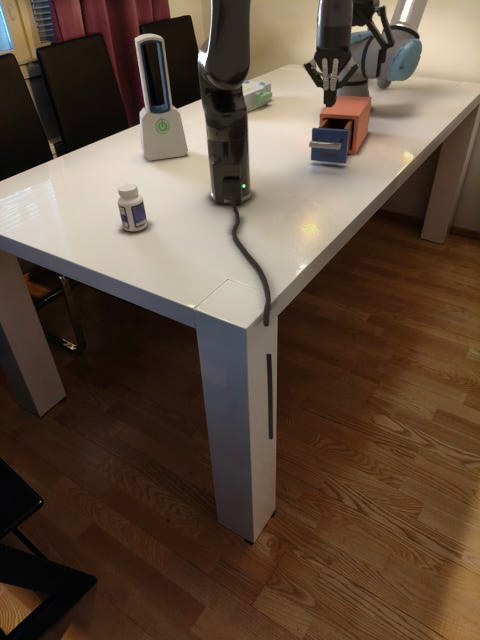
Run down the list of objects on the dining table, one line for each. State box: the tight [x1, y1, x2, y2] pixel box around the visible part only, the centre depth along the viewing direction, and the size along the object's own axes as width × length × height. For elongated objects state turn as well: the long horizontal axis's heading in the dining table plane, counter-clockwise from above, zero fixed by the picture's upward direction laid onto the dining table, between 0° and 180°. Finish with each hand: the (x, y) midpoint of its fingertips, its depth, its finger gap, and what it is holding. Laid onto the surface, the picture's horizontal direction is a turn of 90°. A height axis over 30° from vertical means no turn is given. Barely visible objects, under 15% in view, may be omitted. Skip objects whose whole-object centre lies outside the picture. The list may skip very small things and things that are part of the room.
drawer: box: [308, 118, 355, 164], centre depth 129 cm, size 23×9×8 cm, turn 158°
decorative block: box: [242, 79, 273, 113], centre depth 175 cm, size 26×6×20 cm
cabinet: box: [318, 96, 373, 155], centre depth 139 cm, size 19×10×10 cm, turn 158°
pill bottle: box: [117, 182, 148, 232], centre depth 102 cm, size 5×5×9 cm
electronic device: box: [134, 33, 189, 162], centre depth 131 cm, size 12×8×30 cm, turn 105°
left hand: (329, 106), depth 117 cm, fingers closed
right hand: (353, 75), depth 136 cm, fingers open, 13 cm apart
